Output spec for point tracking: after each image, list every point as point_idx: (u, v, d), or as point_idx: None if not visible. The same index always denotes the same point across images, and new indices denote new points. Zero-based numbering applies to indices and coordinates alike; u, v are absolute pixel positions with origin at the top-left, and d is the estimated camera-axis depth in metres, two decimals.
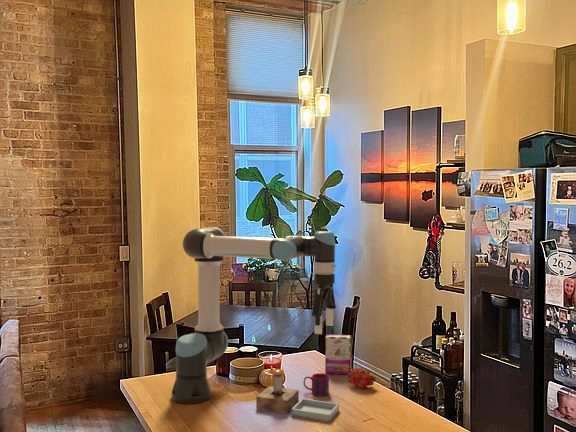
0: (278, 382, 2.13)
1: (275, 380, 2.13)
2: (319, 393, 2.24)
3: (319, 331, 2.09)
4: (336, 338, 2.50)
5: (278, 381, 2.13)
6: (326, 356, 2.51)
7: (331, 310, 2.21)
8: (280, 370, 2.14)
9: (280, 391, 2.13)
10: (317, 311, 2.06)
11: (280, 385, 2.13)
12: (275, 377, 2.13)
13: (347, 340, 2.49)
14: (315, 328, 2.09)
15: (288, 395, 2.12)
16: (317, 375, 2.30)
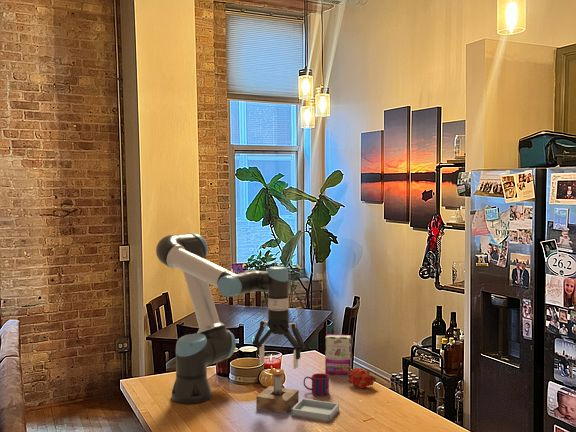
0: (278, 382, 2.13)
1: (275, 380, 2.13)
2: (319, 393, 2.24)
3: None
4: (336, 338, 2.50)
5: (278, 381, 2.13)
6: (326, 356, 2.51)
7: None
8: (280, 370, 2.14)
9: (280, 391, 2.13)
10: None
11: (280, 385, 2.13)
12: (275, 377, 2.13)
13: (347, 340, 2.49)
14: None
15: (288, 395, 2.12)
16: (317, 375, 2.30)
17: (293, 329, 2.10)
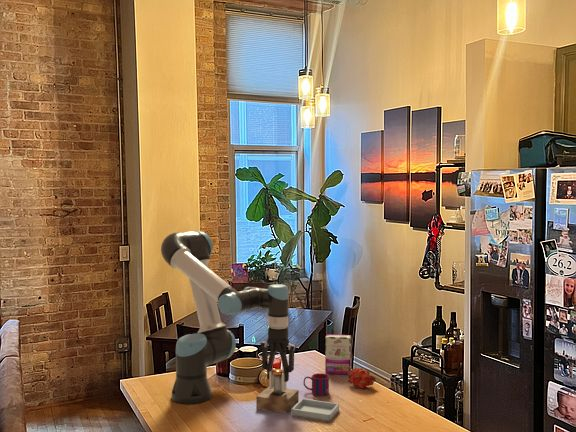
0: (278, 382, 2.13)
1: (275, 380, 2.13)
2: (319, 393, 2.24)
3: None
4: (336, 338, 2.50)
5: (278, 381, 2.13)
6: (326, 356, 2.51)
7: None
8: (280, 370, 2.14)
9: (280, 391, 2.13)
10: None
11: (280, 385, 2.13)
12: (275, 377, 2.13)
13: (347, 340, 2.49)
14: None
15: (288, 395, 2.12)
16: (317, 375, 2.30)
17: (290, 351, 2.10)
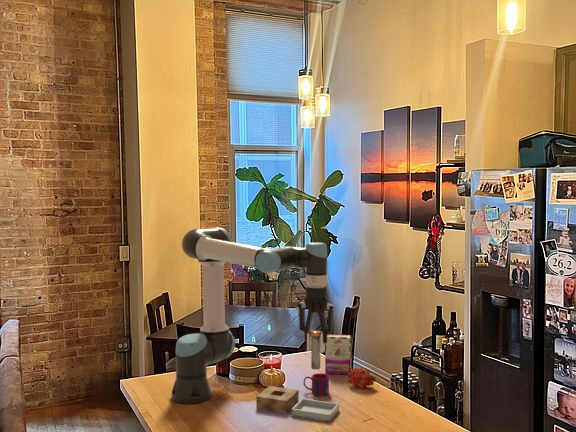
0: (317, 344, 2.04)
1: (313, 342, 2.05)
2: (319, 393, 2.24)
3: None
4: (336, 338, 2.50)
5: (317, 343, 2.04)
6: (326, 356, 2.51)
7: None
8: (318, 331, 2.06)
9: (318, 353, 2.05)
10: None
11: (318, 347, 2.05)
12: (313, 338, 2.04)
13: (347, 340, 2.49)
14: None
15: (288, 395, 2.12)
16: (317, 375, 2.30)
17: (329, 311, 2.02)
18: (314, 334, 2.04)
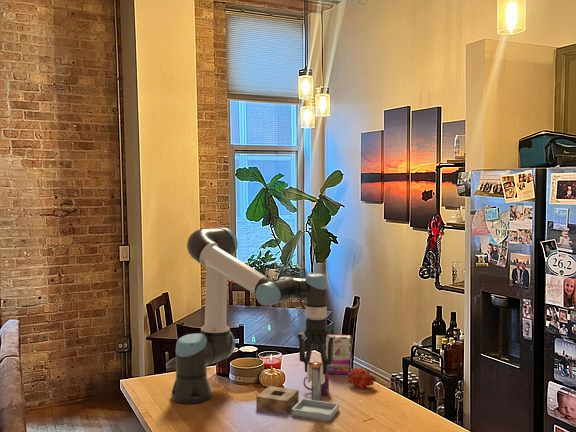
0: (317, 375, 2.05)
1: (313, 373, 2.05)
2: None
3: None
4: (336, 338, 2.50)
5: (317, 374, 2.05)
6: None
7: None
8: (318, 362, 2.06)
9: (318, 384, 2.05)
10: None
11: (318, 378, 2.05)
12: (313, 370, 2.05)
13: (347, 340, 2.49)
14: None
15: (288, 395, 2.12)
16: None
17: (329, 342, 2.03)
18: (314, 365, 2.04)
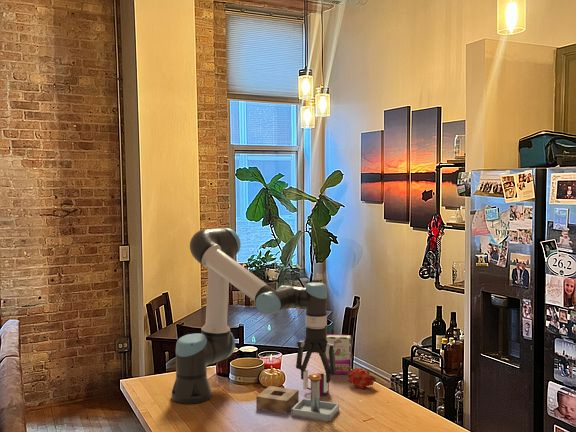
0: (316, 388, 2.05)
1: (312, 385, 2.05)
2: None
3: None
4: (336, 338, 2.50)
5: (316, 387, 2.05)
6: (326, 356, 2.51)
7: None
8: (317, 375, 2.07)
9: (318, 397, 2.06)
10: None
11: (318, 390, 2.06)
12: (312, 382, 2.05)
13: (347, 340, 2.49)
14: None
15: (288, 395, 2.12)
16: None
17: (330, 351, 2.03)
18: (313, 378, 2.05)
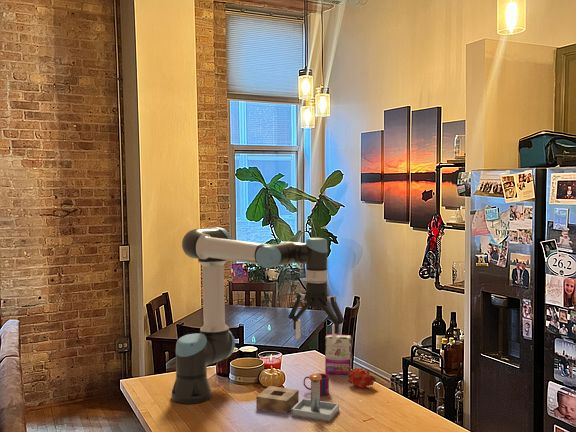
0: (316, 388, 2.05)
1: (313, 386, 2.05)
2: None
3: None
4: (336, 338, 2.50)
5: (316, 387, 2.05)
6: (326, 356, 2.51)
7: None
8: (318, 375, 2.07)
9: (318, 397, 2.06)
10: None
11: (318, 391, 2.06)
12: (313, 382, 2.05)
13: (347, 340, 2.49)
14: None
15: (288, 395, 2.12)
16: None
17: (332, 302, 2.02)
18: (313, 378, 2.04)
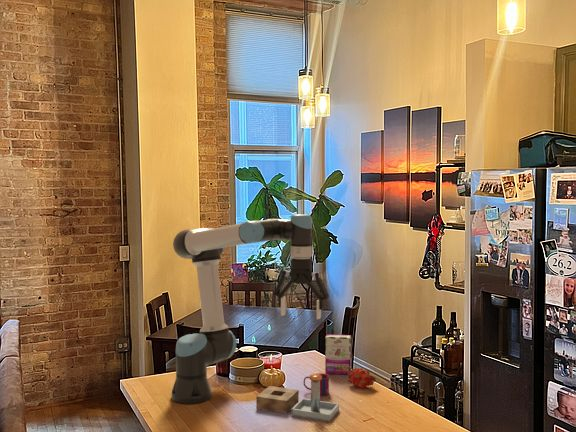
0: (316, 388, 2.05)
1: (313, 385, 2.05)
2: None
3: None
4: (336, 338, 2.50)
5: (316, 387, 2.05)
6: (326, 356, 2.51)
7: None
8: (318, 375, 2.07)
9: (318, 397, 2.06)
10: None
11: (318, 391, 2.06)
12: (313, 382, 2.05)
13: (347, 340, 2.49)
14: None
15: (288, 395, 2.12)
16: None
17: (317, 278, 2.02)
18: (314, 378, 2.04)
